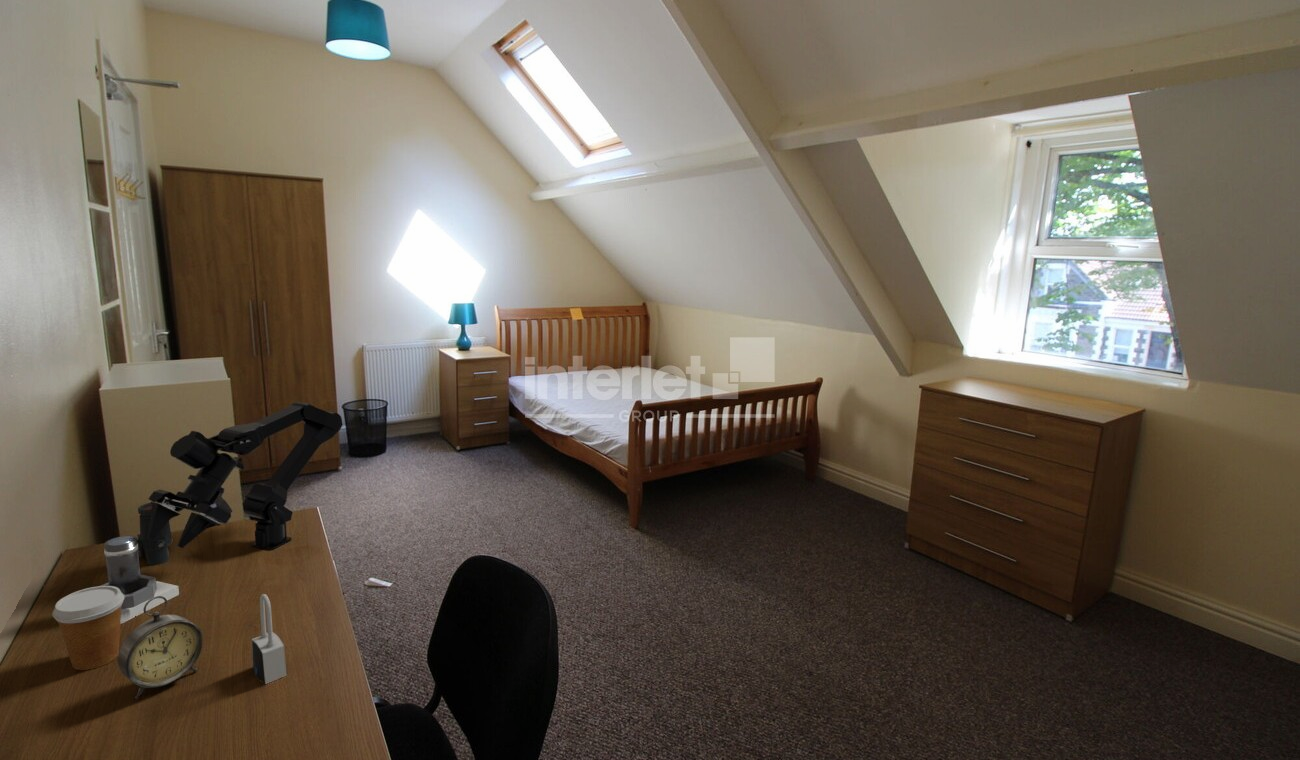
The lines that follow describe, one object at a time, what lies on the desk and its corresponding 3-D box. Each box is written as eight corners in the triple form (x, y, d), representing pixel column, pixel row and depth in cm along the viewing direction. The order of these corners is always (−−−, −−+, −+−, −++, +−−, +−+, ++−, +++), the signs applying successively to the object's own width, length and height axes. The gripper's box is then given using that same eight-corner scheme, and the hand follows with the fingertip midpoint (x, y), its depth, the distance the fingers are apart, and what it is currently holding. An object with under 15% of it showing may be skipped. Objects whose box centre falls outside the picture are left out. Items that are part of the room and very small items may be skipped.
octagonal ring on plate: (143, 586, 136) (141, 567, 135) (179, 594, 134) (177, 575, 133) (70, 620, 123) (67, 599, 122) (108, 630, 121) (106, 608, 120)
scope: (166, 494, 152) (180, 505, 146) (171, 547, 154) (185, 560, 148) (123, 503, 145) (136, 515, 139) (129, 558, 148) (142, 572, 142)
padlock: (249, 668, 112) (244, 592, 109) (275, 658, 115) (271, 583, 112) (262, 686, 108) (257, 607, 105) (289, 675, 111) (284, 598, 108)
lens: (143, 588, 132) (137, 532, 129) (143, 599, 128) (137, 542, 125) (110, 595, 129) (104, 538, 126) (109, 607, 125) (102, 548, 122)
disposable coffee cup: (81, 682, 106) (73, 618, 104) (47, 667, 109) (38, 604, 107) (142, 651, 115) (136, 591, 113) (109, 638, 118) (102, 580, 116)
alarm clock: (131, 707, 101) (121, 616, 98) (117, 694, 104) (107, 605, 101) (207, 672, 110) (200, 588, 107) (193, 661, 113) (185, 578, 110)
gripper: (265, 499, 146) (224, 564, 138) (208, 486, 152) (165, 547, 144) (230, 479, 137) (183, 546, 129) (171, 465, 143) (123, 529, 135)
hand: (164, 543), depth 134 cm, fingers open, 9 cm apart
